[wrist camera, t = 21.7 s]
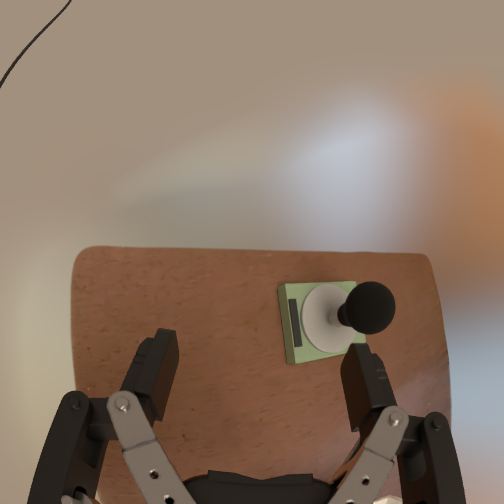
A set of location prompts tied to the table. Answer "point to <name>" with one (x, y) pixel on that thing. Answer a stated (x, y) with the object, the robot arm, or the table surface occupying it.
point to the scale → (314, 320)
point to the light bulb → (365, 309)
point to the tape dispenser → (388, 500)
